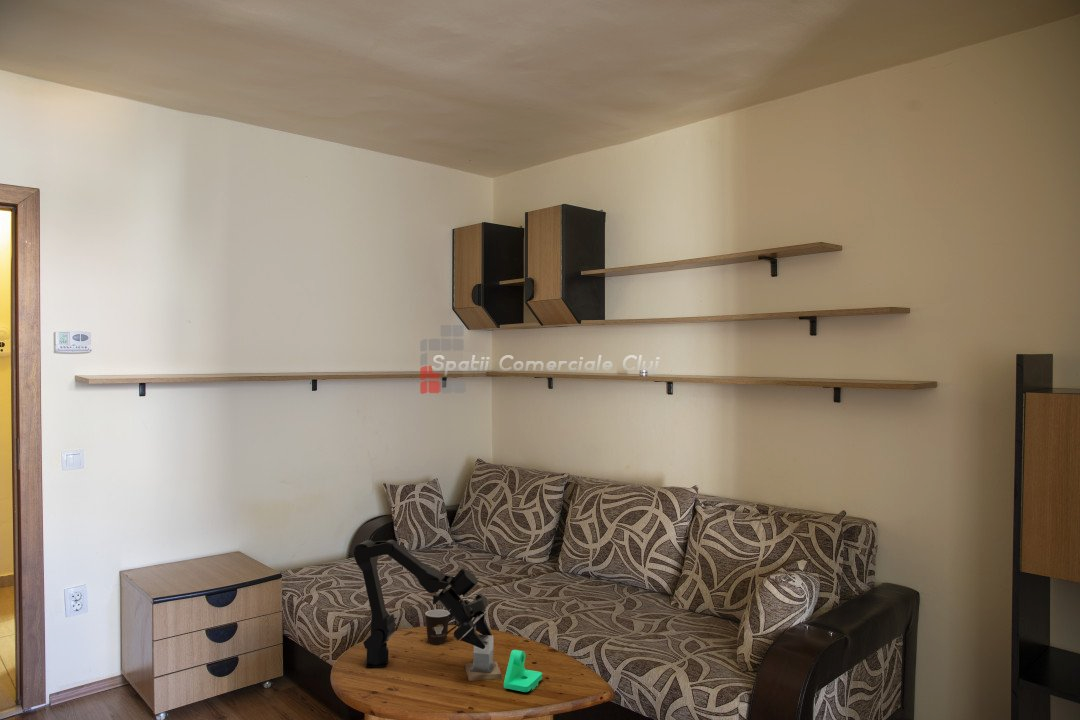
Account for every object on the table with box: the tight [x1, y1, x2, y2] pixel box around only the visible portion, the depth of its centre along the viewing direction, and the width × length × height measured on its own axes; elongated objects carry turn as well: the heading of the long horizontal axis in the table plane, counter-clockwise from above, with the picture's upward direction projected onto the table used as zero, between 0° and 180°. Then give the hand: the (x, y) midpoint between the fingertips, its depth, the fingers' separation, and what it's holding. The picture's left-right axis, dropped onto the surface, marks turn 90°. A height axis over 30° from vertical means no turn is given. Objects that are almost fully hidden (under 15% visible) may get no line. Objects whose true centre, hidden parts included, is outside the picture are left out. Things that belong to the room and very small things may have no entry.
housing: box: [470, 633, 496, 673], centre depth 230 cm, size 6×6×10 cm
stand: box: [465, 661, 502, 682], centre depth 230 cm, size 10×10×2 cm
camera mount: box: [503, 649, 543, 693], centre depth 221 cm, size 12×8×10 cm, turn 157°
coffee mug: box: [424, 609, 459, 646], centre depth 257 cm, size 12×9×10 cm
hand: (488, 642), depth 230 cm, fingers open, 9 cm apart
